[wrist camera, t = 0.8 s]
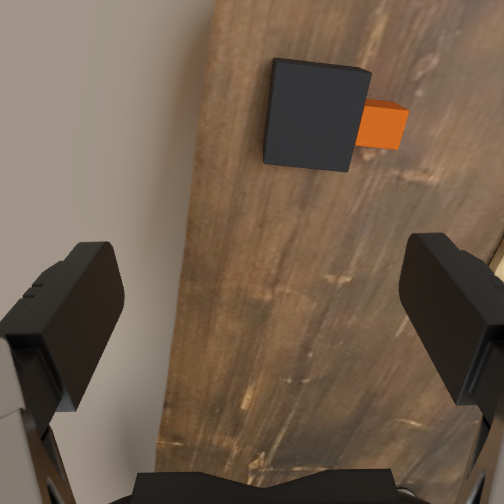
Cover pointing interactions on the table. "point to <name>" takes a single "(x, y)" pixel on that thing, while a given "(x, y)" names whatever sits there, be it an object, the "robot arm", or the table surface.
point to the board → (498, 262)
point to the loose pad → (325, 116)
